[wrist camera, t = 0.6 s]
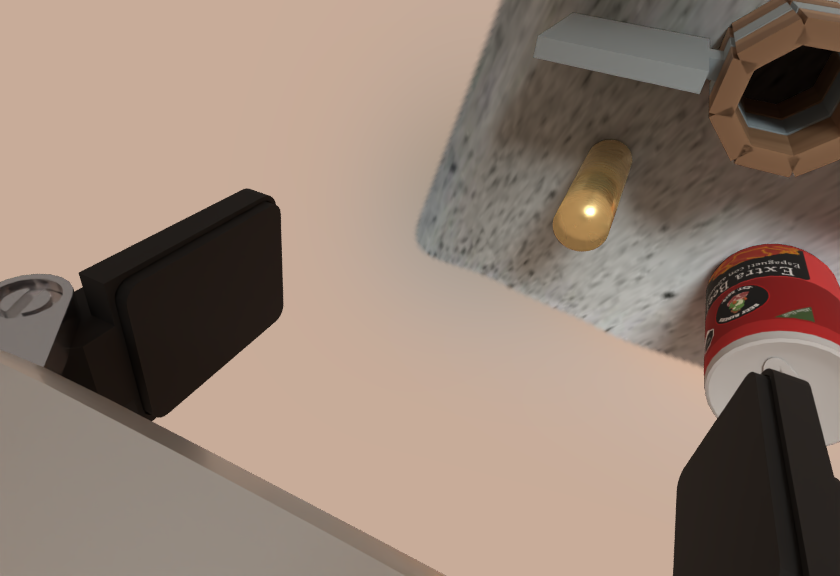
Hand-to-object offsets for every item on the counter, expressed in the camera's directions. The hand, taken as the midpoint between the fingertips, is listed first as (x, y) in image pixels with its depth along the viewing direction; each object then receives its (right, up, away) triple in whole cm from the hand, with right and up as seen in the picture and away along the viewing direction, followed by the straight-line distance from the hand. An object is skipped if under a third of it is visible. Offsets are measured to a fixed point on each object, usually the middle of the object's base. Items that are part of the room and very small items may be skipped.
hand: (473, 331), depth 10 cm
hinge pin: (+12, +10, +26) cm, 30 cm away
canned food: (+23, +1, +26) cm, 35 cm away
